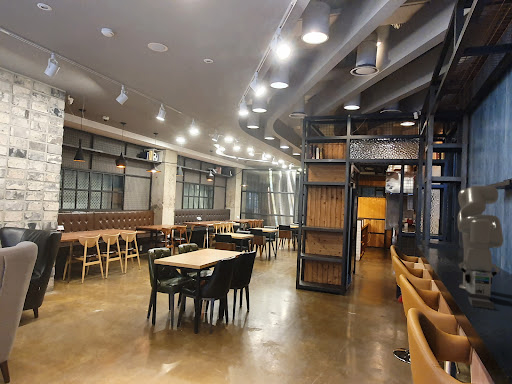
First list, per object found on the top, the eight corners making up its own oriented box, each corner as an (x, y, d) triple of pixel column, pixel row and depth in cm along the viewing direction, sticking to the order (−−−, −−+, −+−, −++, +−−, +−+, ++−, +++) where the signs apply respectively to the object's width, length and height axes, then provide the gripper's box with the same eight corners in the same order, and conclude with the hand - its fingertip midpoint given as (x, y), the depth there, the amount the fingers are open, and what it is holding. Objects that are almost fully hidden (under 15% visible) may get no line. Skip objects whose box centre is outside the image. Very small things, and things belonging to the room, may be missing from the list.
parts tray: (468, 298, 158) (468, 293, 158) (488, 301, 155) (488, 295, 155) (471, 306, 145) (471, 299, 145) (493, 309, 142) (494, 302, 142)
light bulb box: (490, 297, 158) (491, 273, 158) (474, 296, 159) (475, 272, 159) (480, 291, 168) (481, 268, 168) (465, 290, 170) (466, 267, 170)
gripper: (500, 247, 163) (499, 285, 163) (457, 243, 171) (456, 279, 171) (503, 249, 157) (502, 288, 156) (458, 245, 164) (457, 283, 164)
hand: (478, 283), depth 164 cm, fingers closed on light bulb box, 7 cm apart
